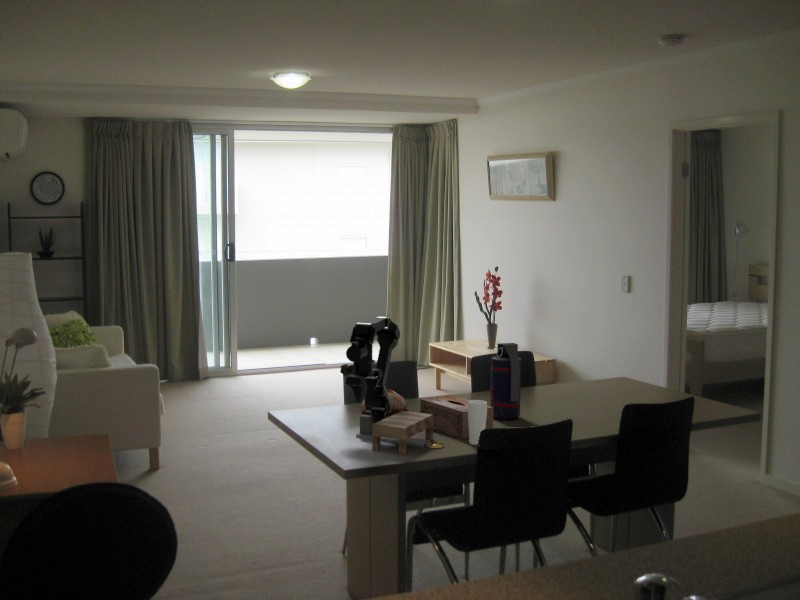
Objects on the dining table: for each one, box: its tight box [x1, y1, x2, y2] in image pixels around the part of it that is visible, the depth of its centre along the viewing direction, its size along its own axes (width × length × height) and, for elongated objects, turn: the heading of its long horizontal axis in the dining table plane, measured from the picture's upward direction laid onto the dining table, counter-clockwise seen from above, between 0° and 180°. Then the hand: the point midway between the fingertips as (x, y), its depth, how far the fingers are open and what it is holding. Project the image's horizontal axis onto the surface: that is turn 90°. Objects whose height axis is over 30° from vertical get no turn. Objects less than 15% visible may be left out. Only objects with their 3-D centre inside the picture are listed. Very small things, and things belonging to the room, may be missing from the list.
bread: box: [360, 388, 408, 416], centre depth 340 cm, size 16×20×10 cm
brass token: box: [426, 441, 445, 449], centre depth 288 cm, size 6×6×1 cm
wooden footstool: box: [371, 410, 434, 456], centre depth 289 cm, size 23×12×9 cm, turn 153°
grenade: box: [489, 342, 522, 421], centre depth 329 cm, size 14×12×30 cm
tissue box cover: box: [419, 394, 494, 439], centre depth 313 cm, size 26×14×10 cm, turn 35°
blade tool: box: [355, 414, 431, 448], centre depth 295 cm, size 6×26×8 cm, turn 63°
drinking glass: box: [468, 399, 488, 446], centre depth 291 cm, size 7×7×15 cm
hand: (364, 400), depth 300 cm, fingers open, 9 cm apart
